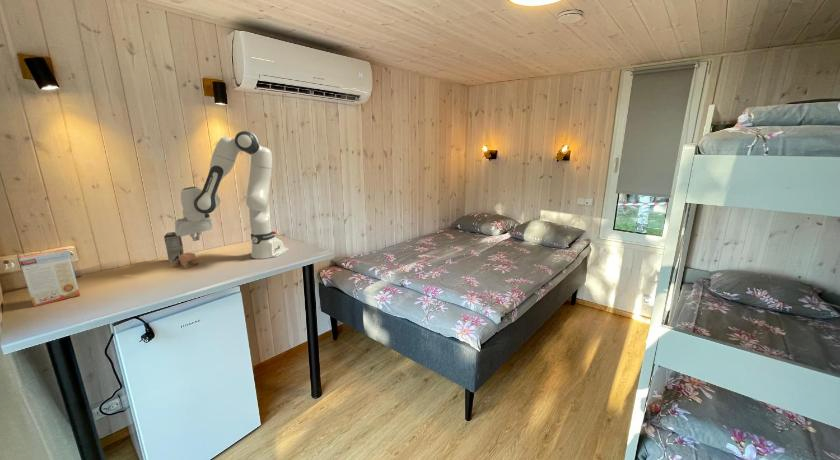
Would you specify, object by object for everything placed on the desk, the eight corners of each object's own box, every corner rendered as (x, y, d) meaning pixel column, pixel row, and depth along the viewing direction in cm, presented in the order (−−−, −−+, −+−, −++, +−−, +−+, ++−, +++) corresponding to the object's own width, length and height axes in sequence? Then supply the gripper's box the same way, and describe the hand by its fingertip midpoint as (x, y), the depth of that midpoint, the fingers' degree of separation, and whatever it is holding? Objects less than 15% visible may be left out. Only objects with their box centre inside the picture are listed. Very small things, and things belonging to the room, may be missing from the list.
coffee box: (172, 259, 199) (167, 232, 196) (185, 257, 202) (180, 231, 198) (168, 263, 191) (163, 236, 188) (182, 262, 194) (177, 234, 190)
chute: (187, 263, 192) (186, 257, 191) (200, 264, 189) (199, 258, 188) (161, 272, 178) (159, 266, 177) (173, 274, 175) (172, 267, 174)
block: (189, 263, 191) (187, 252, 189) (196, 263, 189) (194, 253, 188) (181, 265, 186) (179, 255, 185) (187, 266, 184) (186, 256, 183)
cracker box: (78, 292, 154) (66, 247, 149) (80, 295, 150) (68, 250, 145) (32, 303, 143) (18, 255, 138) (33, 307, 139) (18, 258, 135)
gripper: (179, 220, 178) (183, 245, 181) (213, 213, 197) (215, 236, 200) (170, 219, 180) (174, 244, 183) (204, 213, 199) (207, 236, 202)
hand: (196, 240), depth 192 cm, fingers closed
